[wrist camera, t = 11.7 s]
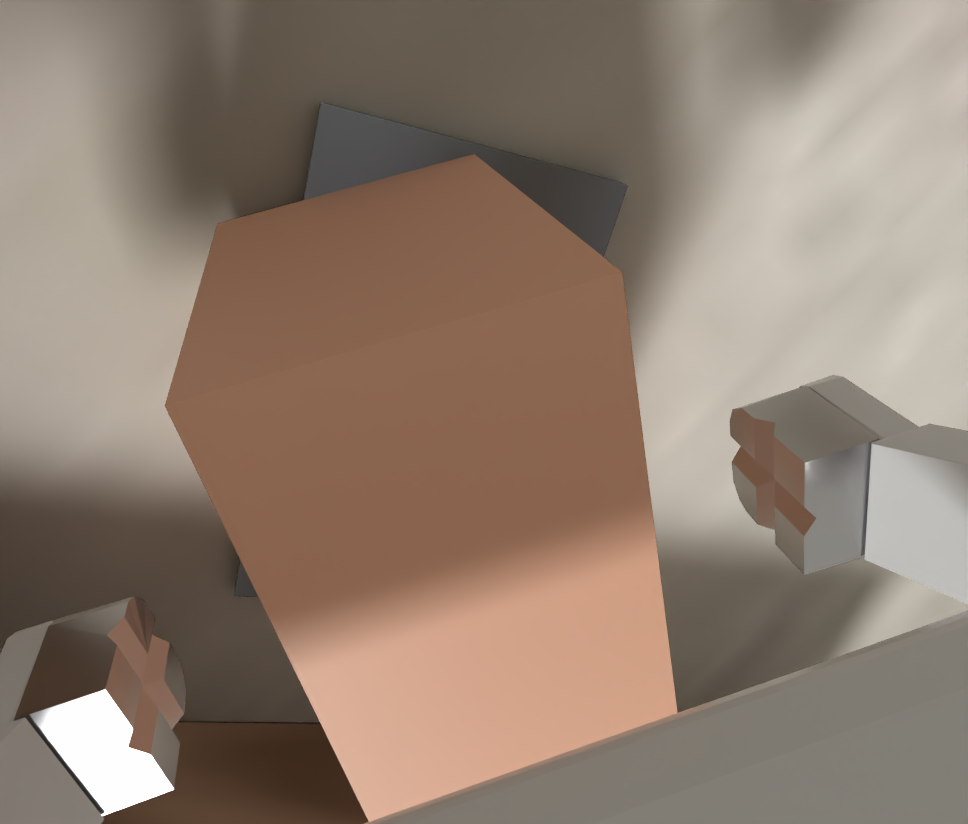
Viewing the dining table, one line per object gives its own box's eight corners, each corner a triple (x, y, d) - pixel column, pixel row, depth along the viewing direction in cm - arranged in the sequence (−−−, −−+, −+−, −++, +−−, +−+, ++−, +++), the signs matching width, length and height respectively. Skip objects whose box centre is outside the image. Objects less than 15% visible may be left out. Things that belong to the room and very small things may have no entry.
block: (215, 223, 11) (161, 407, 6) (474, 153, 12) (625, 272, 7) (367, 607, 16) (411, 912, 10) (557, 545, 16) (691, 810, 11)
